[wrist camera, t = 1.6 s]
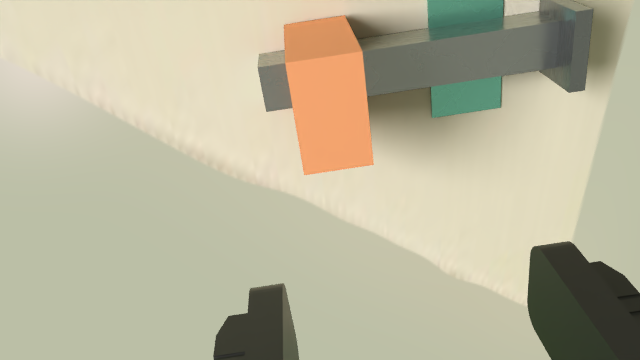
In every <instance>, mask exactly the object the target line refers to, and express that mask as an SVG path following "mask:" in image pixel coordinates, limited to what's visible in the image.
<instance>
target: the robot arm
mask: <svg viewBox="0 0 640 360" xmlns="http://www.w3.org/2000/svg"><path fill="white" fill-rule="evenodd" d="M527 303H528V311H529V316H530V319H531V322H532V325H533V327H534V330H535V331H536V333H537V335H538V337H539V339H540V340H541V342H542V343H543V346H544V347H545V349H546V351H547V352H548V354H549V356H550V357H551V359H552V360H640V293H639V292H638V291H637V290H636V288H635V287H634V286H633V285H632V284H631V283H630V282H629V281H628V279H627V278H626V277H625V276H624V275H623V274H621V273H619V272H618V271H616V270H614V269H612V268H611V267H609V266H608V265H606V264H604V263H603V262H601V261H599V262H592V263H589V262H588V261H587V260H586V258H585V257H584V256H583V255H582V254H581V252H580V251H579V250H578V249H577V247H576V246H575V245H574V244H573V243H572V242H569V241H567V242H561V243H554V244H547V245H541V246H534V247H533V248H532V250H531V254H530V268H529V284H528V300H527ZM214 360H299V356H298V347H297V341H296V334H295V330H294V325H293V320H292V316H291V311H290V306H289V302H288V298H287V293H286V288H285V285H284V284H276V285H269V286H263V287H257V288H251V289H250V291H249V305H248V313H246V314H239V315H232V316H228V318H227V319H226V321H225V322H224V324H223V326H222V327H221V329H220V330H219V332H218V334H217V335H216V341H215V348H214Z"/></svg>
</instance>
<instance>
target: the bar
mask: <svg viewBox="0 0 640 360" xmlns="http://www.w3.org/2000/svg"><path fill="white" fill-rule="evenodd" d="M427 3H428V28H426V29H420V30H413V31H407V32H400V33H394V34H387V35H381V36H374V37H368V38H361V39H357V41H358V43H359V45H360V47H361V49H362V52H363V62H364V72H365V82H366V92H367V96H374V95H380V94H387V93H393V92H400V91H406V90H413V89H420V88H426V87H431V106H432V118H435V117H441V116H448V115H455V114H461V113H468V112H474V111H481V110H488V109H494V108H500V105H501V76H505V75H511V74H518V73H525V72H531V71H540V72H541V73H542V74H544V75H545V76H547V77H548V78H549V79H551V80H552V81H554V82H555V83H556V84H558V85H559V86H560V87H562V88H563V89H565V90H566V91H567V92H569V93H570V92H577V91H583V90H585V84H586V74H587V65H588V55H589V46H590V36H591V27H592V17H593V9H592V8H590V7H587V6H585V5H582V4H580V3H577V2H575V1H572V0H540V8H539V11H537V12H531V13H524V14H518V15H511V16H505V17H503V0H427ZM258 72H259V77H260V82H261V87H262V92H263V97H264V102H265V107H266V112H269V111H275V110H282V109H288V108H293V106H292V100H291V94H290V88H289V83H288V77H287V71H286V65H285V50H283V51H276V52H270V53H263V54H259V60H258Z"/></svg>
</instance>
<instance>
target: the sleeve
mask: <svg viewBox="0 0 640 360" xmlns="http://www.w3.org/2000/svg"><path fill="white" fill-rule="evenodd" d="M284 42H285V65H286V71H287V77H288V83H289V88H290V94H291V100H292V106H293V112H294V118H295V123H296V129H297V135H298V141H299V147H300V153H301V159H302V164H303V170H304V175H309V174H315V173H322V172H328V171H335V170H342V169H348V168H355V167H361V166H368V165H374V163H373V153H372V143H371V133H370V123H369V113H368V103H367V92H366V82H365V72H364V62H363V52H362V49H361V47H360V45H359V43H358V41H357V39H356V37H355V35H354V33H353V31H352V29H351V27H350V25H349V23H348V21H347V19H346V17H345V15H344V16H338V17H331V18H325V19H318V20H312V21H305V22H299V23H292V24H286V25H284Z"/></svg>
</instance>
